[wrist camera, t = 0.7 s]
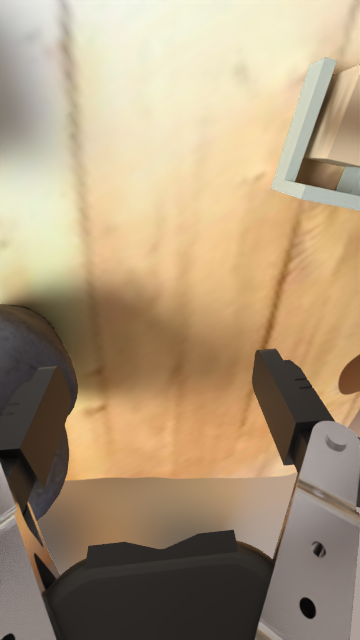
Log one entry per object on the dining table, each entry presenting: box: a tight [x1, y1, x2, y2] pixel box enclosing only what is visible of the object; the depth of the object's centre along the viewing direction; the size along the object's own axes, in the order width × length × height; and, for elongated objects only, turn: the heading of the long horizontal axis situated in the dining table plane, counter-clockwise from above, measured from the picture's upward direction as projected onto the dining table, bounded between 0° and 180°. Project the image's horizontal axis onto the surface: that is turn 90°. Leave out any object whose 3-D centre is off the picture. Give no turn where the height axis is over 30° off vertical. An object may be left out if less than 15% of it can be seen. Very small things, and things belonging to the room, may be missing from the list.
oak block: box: [303, 64, 360, 168], centre depth 28 cm, size 7×5×6 cm
